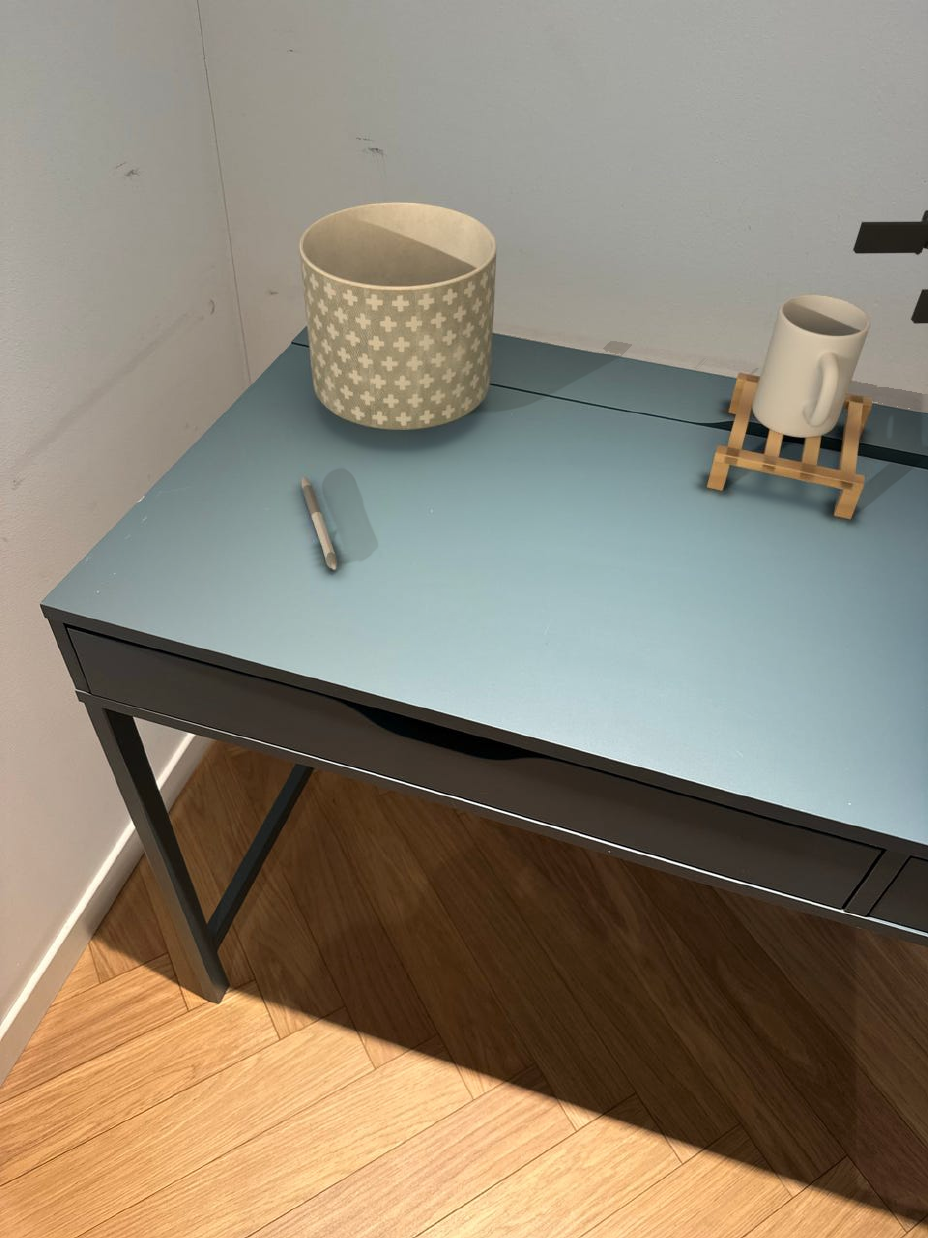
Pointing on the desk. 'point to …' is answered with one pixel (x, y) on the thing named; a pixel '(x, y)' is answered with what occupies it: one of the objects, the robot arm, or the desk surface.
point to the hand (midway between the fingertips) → (886, 270)
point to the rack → (807, 467)
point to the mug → (809, 365)
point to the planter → (399, 313)
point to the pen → (319, 523)
